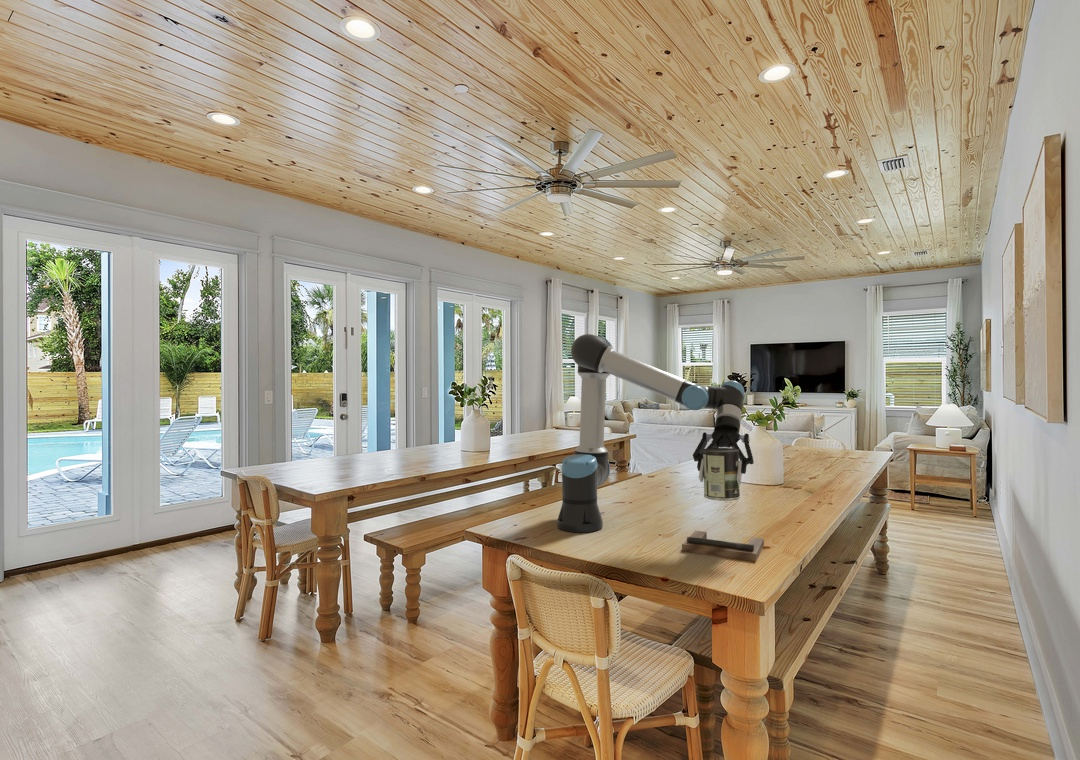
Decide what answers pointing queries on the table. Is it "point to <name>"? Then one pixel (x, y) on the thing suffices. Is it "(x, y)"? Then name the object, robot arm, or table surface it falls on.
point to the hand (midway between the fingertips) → (719, 480)
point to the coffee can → (721, 474)
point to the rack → (723, 547)
